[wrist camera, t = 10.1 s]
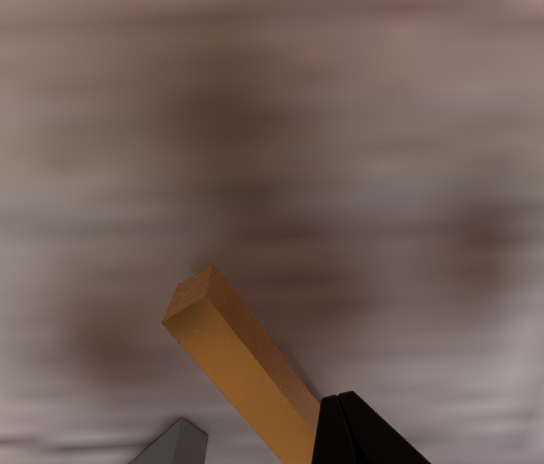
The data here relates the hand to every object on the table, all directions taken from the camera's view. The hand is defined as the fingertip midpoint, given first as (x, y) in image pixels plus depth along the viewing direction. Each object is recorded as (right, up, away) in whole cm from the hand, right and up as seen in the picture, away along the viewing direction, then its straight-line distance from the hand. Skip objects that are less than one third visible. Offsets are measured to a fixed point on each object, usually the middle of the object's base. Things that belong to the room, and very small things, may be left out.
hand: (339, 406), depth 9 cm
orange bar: (+1, -5, +5) cm, 7 cm away
